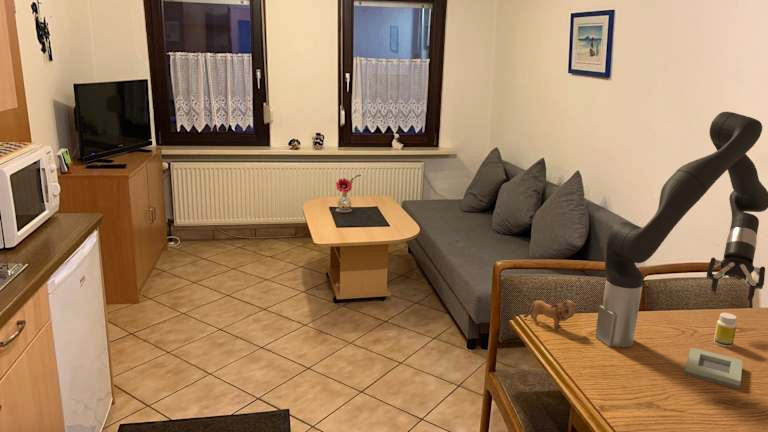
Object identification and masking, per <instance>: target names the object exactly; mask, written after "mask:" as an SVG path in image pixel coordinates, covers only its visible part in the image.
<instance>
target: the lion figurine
mask: <svg viewBox="0 0 768 432" xmlns="http://www.w3.org/2000/svg"><path fill="white" fill-rule="evenodd" d="M540 313H542V314H543V316H545V317H546V318H549V319H553V323H554V324H553V325H554V326H553V328H554V331H555V332H559V331H560V328H562V326H561V324H560V322H566V321H567V320H568V319H572V318H573V317H574V316H575V314H576V303H574V302H573V301H572V300H565V301H563V302H559V303H555V304H553V305H551V304H548V303H546V302H545V301H543V300H535V301H533V302H532V304H531V307H530V308H529V311H528V313H526V314H525V315H523V318H528V317H529V316H530V318H531V319H533V322H534V325H536V326H538V325H539V324H540V322H539V321H537V319H538V316H539V314H540Z"/></svg>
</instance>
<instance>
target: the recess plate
mask: <svg viewBox="0 0 768 432" xmlns="http://www.w3.org/2000/svg"><path fill="white" fill-rule="evenodd" d="M685 365H686V366H685V369H684V375H685V376H688V377H692V378H697V379H699V380H704V381H707V382H711V383H715V384H718V385H722V386H725V387H728V388H729V387H730V388H733V389H737V390H740V387H741V382H742V371H743V359H739V358H735V357H731V356H727V355H723V354H720V353H719V354H718V353H715V352H710V351H707V350H704V349H699V348H694V347H690V349H689V354H688V356H687V361H686V364H685Z"/></svg>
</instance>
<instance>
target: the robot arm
mask: <svg viewBox="0 0 768 432" xmlns="http://www.w3.org/2000/svg"><path fill="white" fill-rule="evenodd" d="M762 132H763V125H762V122H761V121H760V120H759V119H757V118H754V117H751V116H748V115H744V114H740V113H737V112H732V111H722V112H720V113H718V114H717V115H716V116H715V117H714V118H713V120H712V122H711V123H710V126H709V137H710V140H711V142H712V144H713V146H714V147H715V149H716V151H715V152H713V153H711V154H708V155H706V156H703V157H700V158H698V159H695V160H692V161H690V162H688V163H686V164H683V165H682V166H680V167H678V169H677V170H676V171H675V172H674V173H673V174H672V175H671V176H670V177H669V178H668V179H667V180H666V181H665V183H664V184H663V186H662V188H661V190H660V195H659V202H658V208H657V209H656V210H657V211H656V212H655V214H654V215H653V217H652V218H651V219H650V220H649V221H648V222H647V223H646V224H645V225H644V226H643V227H642V226H639V225H637V224H634V223H631V222H628V221H620V222H618V223H616V224H614V226H613V227H612V228H611V229H610V230H609V231H610V232H609V234H608V237H607V241H606V247H605V248H606V249H605V250H606V251H605V259H604V260H605V261H604V262H605V263H604V269H605V273H606V277H605V279H606V280H605V285H604V291H603V299H602V305H601V304H600V305H599V306H598V314H597V319H596V320H597V321H596V325H595V326H596V328H595V333H594V335H595V338H596V339H598V340H600V341H601V342H602V343H604V344H605V345H606V346H608V347H617V348H627V347H628V348H629V347H632V345H634V340H635V333H636V328H637V322H638V315H639V309H640V302H641V298H642V297H641V296H642V292H643V291H642V290H643V286H644V285H643V283H644V274H643V273H642V271H641V270H640V269H639V267H637V265H636V264H642V263H645V262H646V261H648V260H649V259H650V258H651V257H653V255H654V254H655V253H656V252H657V250H658V249H659V248H660V246H662V244H663V243H664V242H665V240H666V238H667V237H668V236H669V235H670V233H671V232H672V231H673V229H674V228H675V227H676V226H677V225H678V223H680V221H681V220H682V219H683V217H684V216H685V215H686V214H688V212H689V211H690V210H691V209H692V208H693V207H694V206H695V205H696V204H697V202H699V201H700V200H701V198H703V197H704V196H705V194H706V193H707V192H708V191H709V189H711V187H712V186H713V185H714V184H715V183H716V182H717V181H718V180H719V178H721V177H722V176H723V175H724V174H725V172H726V171H727V172H728V175H729V179H730V183H731V188H732V189H733V190H732V192H731V193H730V194H729V206H730V211H731V223H730V228H729V232H728V235H727V239H726V242H725V248H724V253H723V254H724V255H723V258H722V260H719V259H716V258H715V257H711V259H710V261H709V264H708V269H707V271H706V275H705V276H706V279H708V280H711V281H712V282H711V288H710V290H711V292H712V294H715V295H716V293H717V289H718V283H719V281H721V280H722V279H724V278H725V277H728V278H730V279H736V280H744V282H745V283H746V284H747V286H748V292H747V297H746V300H747V301H748V302H749V301H751V300H753V299H754V297H755V293H756V290H757V289H758V290H762V289H763V287H764V285H765V278H766V277H765V276H766V275H765V274H766V267H765V266H761V267H758V266H754V259H755V255H756V253H755V252H756V249H757V243H758V242H757V241H758V240H757V238H758V231H759V224H760V220H759V218H758V217H757V216H756V215H755V214H753V213H762V212H765V211H766V210H768V190H767V188H766V187H765V186H764V185H763V184H762V182H761V181H760V178H759V174H758V170H757V167H756V165H755V163H754V162H753V160H752V159H751V158H750V157H749V156H748V155H747V153H748V152H749V151H750V150H751V149H752V148H753V147H754V146H755V144H756V143H757V142H758V140H759V139H760V137H761V135H762ZM635 263H636V264H635ZM718 266H720V267H721V269H720V270H719V271H718V272H717V273H715V274H714V273H713V271H714V270H715V269H714V268H717V267H718ZM753 272H755V275H756V276H757V277H758V278H757V279H758V281H757V282H756V281H755V280H754V278H753V276H752V273H753Z"/></svg>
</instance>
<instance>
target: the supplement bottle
mask: <svg viewBox="0 0 768 432" xmlns="http://www.w3.org/2000/svg"><path fill="white" fill-rule="evenodd" d="M737 319H738V318H737V316H736V315H735V314H733V313H730V312H721V313H720V314H719V319H718V320H717V321H716V326H715V331H714V336H713V343H714V344H715V345H718V346H720V347H723V348H730V347H731V348H732V347H733V345H734V341H735V340H734V339H735V335H736V330H737Z"/></svg>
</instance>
